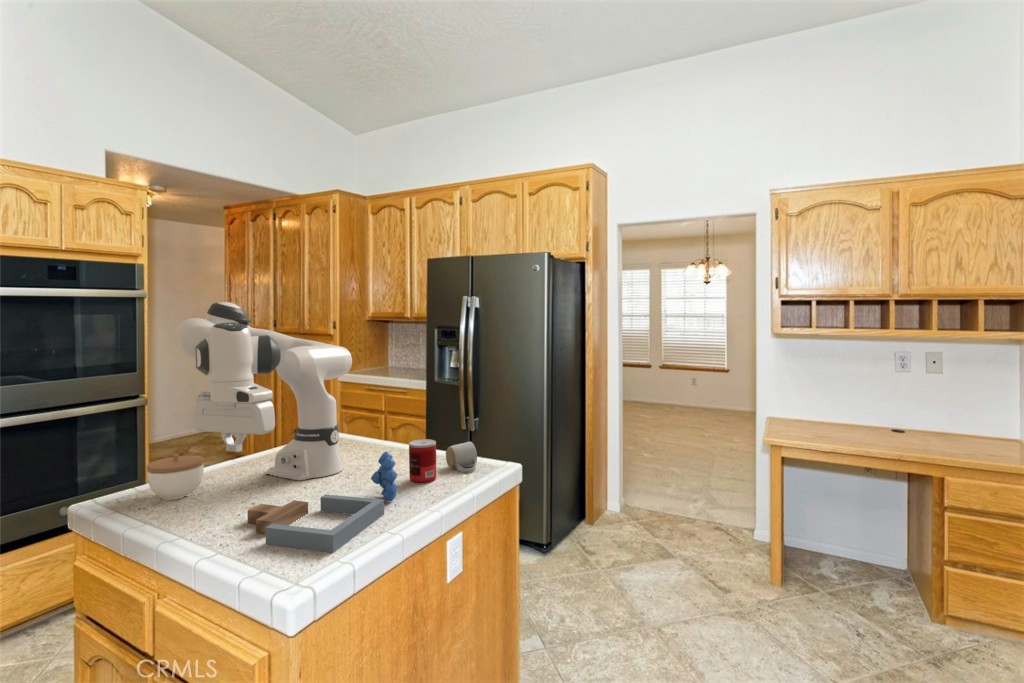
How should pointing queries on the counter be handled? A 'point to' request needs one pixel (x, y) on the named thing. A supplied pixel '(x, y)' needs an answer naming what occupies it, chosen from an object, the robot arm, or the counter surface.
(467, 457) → the ceramic mug
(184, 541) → the counter surface
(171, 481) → the lidded bowl
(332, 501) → the bay
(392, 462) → the grapes
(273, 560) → the counter surface
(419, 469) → the canned food
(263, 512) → the t block
